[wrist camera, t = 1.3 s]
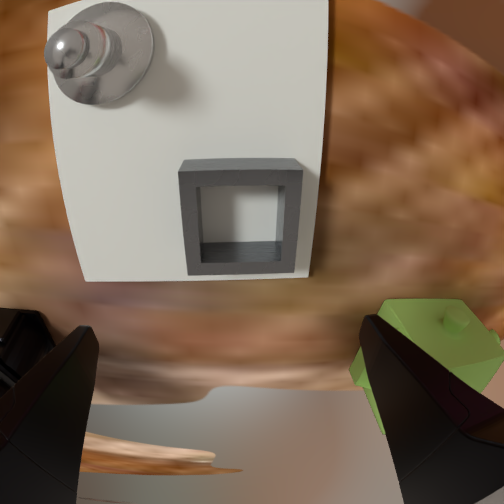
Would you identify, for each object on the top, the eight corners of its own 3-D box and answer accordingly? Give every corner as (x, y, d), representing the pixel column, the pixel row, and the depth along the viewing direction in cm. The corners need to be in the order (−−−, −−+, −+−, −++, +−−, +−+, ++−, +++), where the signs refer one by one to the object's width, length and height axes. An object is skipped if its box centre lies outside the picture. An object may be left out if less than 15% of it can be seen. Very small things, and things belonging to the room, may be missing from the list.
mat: (306, 272, 24) (308, 277, 23) (88, 276, 23) (85, 281, 22) (325, -11, 13) (328, -14, 13) (52, 12, 12) (48, 11, 12)
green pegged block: (490, 284, 28) (540, 337, 19) (453, 350, 32) (489, 405, 24) (359, 278, 25) (411, 363, 16) (326, 362, 29) (354, 443, 21)
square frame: (287, 252, 22) (294, 272, 20) (191, 254, 22) (187, 275, 19) (294, 158, 19) (303, 170, 16) (183, 159, 18) (177, 171, 16)
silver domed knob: (155, 96, 16) (129, 103, 11) (60, 111, 16) (13, 127, 11) (155, -5, 13) (130, -30, 8) (58, 18, 12) (11, 9, 8)
